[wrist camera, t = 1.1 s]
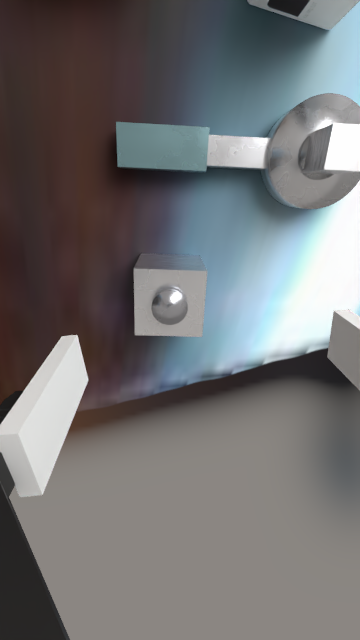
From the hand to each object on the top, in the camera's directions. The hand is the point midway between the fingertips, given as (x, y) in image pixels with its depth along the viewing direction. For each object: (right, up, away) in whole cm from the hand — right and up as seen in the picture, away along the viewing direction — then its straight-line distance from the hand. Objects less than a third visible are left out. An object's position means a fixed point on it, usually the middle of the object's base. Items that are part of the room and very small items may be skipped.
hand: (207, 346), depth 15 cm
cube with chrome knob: (-3, +6, +18) cm, 19 cm away
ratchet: (+4, +17, +13) cm, 22 cm away
